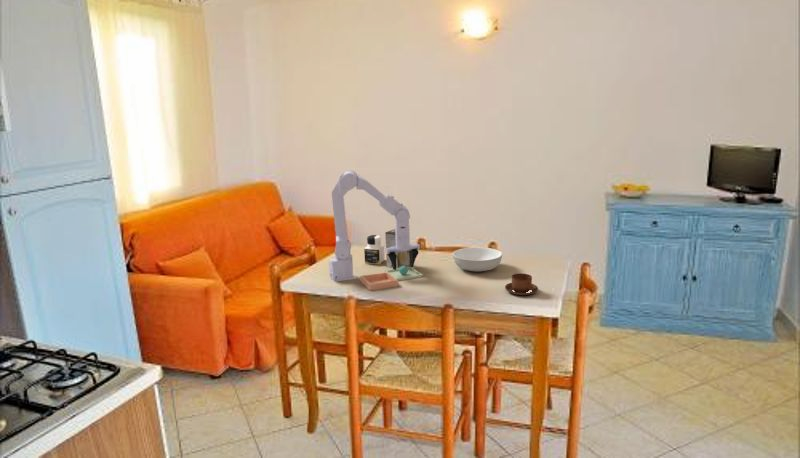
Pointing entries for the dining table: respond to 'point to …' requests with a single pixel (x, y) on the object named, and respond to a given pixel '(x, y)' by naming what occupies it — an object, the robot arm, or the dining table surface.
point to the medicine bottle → (374, 250)
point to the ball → (403, 270)
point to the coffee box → (402, 256)
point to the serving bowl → (477, 258)
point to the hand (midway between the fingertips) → (403, 268)
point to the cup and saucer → (521, 284)
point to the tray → (410, 274)
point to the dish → (379, 281)
